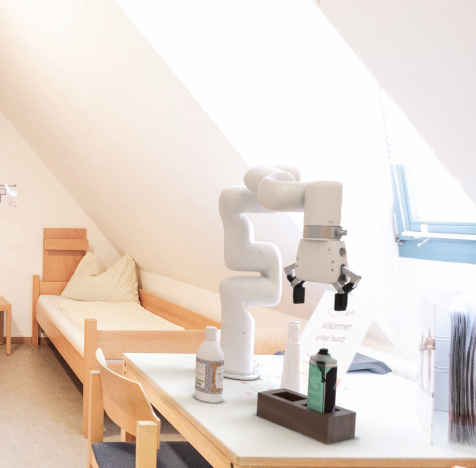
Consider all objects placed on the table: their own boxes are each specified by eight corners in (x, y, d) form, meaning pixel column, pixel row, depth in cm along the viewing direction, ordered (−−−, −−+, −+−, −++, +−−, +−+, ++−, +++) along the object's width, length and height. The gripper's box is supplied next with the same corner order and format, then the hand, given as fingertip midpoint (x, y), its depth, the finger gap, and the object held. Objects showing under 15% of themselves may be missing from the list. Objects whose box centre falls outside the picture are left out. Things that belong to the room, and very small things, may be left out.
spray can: (336, 438, 122) (341, 352, 121) (309, 434, 124) (313, 350, 123) (329, 429, 127) (334, 347, 126) (303, 426, 129) (307, 344, 128)
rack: (283, 410, 139) (284, 387, 139) (354, 437, 123) (356, 412, 122) (256, 415, 135) (257, 392, 135) (326, 444, 119) (328, 417, 119)
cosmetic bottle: (287, 403, 144) (291, 323, 143) (273, 395, 151) (276, 318, 149) (308, 403, 145) (312, 323, 144) (293, 395, 151) (297, 318, 150)
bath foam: (212, 405, 142) (216, 331, 141) (189, 397, 148) (192, 326, 147) (227, 400, 146) (230, 328, 145) (203, 392, 151) (206, 323, 150)
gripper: (373, 235, 117) (369, 312, 118) (297, 232, 133) (294, 300, 134) (350, 235, 114) (346, 314, 115) (276, 232, 130) (273, 301, 131)
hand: (318, 306), depth 124 cm, fingers open, 9 cm apart
